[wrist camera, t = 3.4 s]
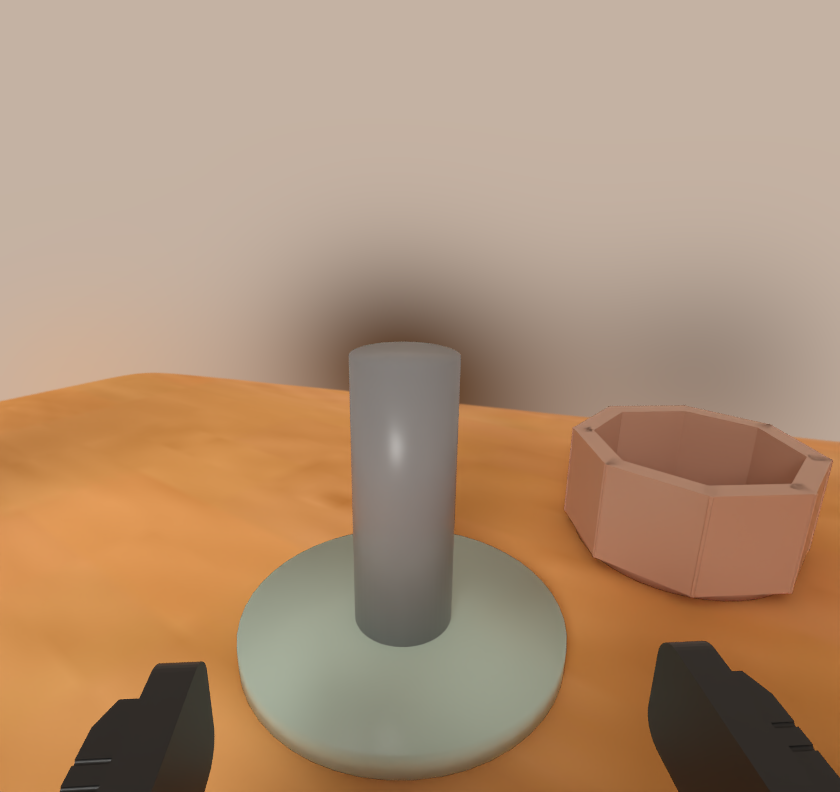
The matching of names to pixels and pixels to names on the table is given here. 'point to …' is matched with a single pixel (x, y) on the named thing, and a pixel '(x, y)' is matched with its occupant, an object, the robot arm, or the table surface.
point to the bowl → (695, 500)
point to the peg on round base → (402, 603)
